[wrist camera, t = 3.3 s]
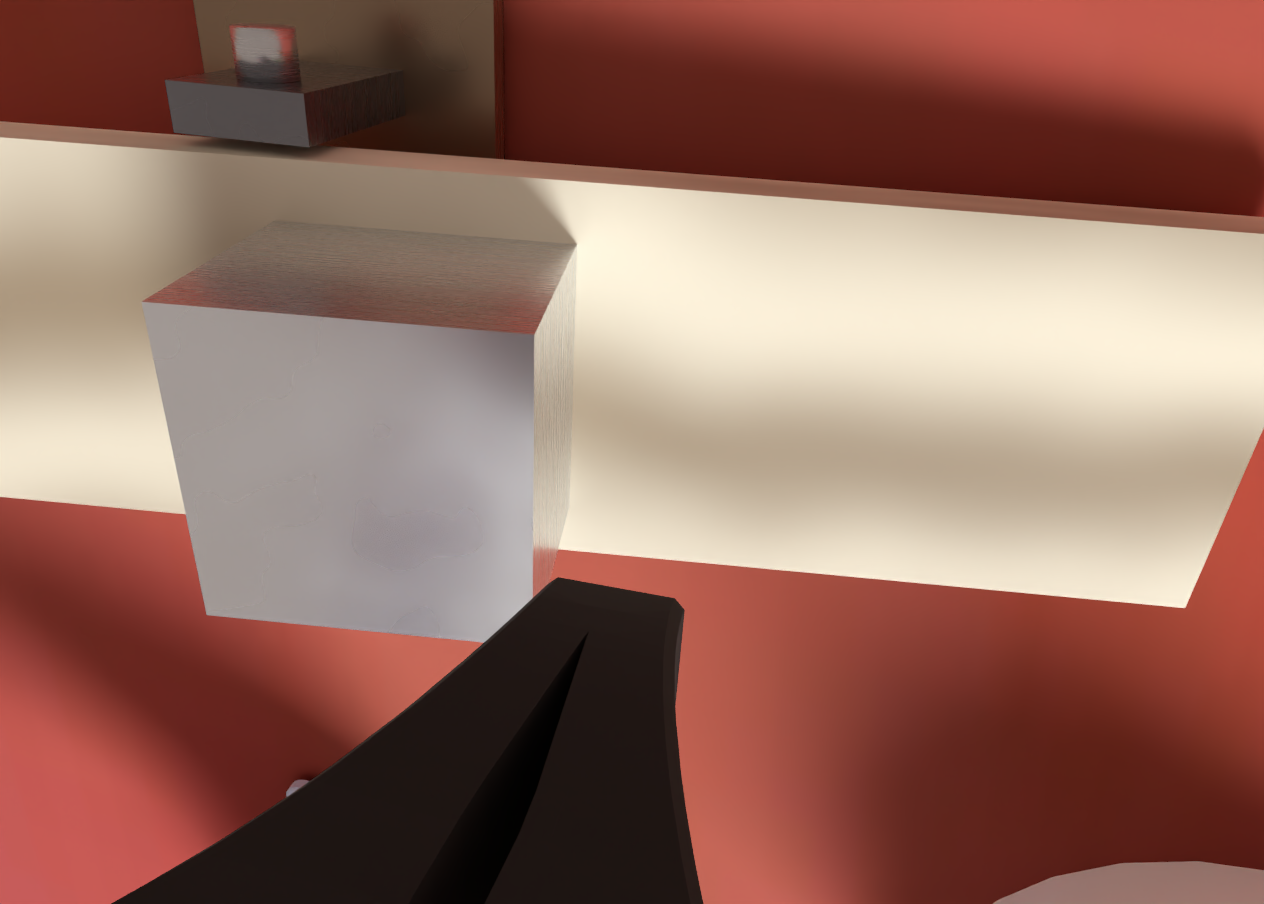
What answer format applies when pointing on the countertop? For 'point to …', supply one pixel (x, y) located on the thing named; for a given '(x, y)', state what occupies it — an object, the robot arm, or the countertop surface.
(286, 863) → the robot arm
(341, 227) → the steel block
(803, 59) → the countertop surface
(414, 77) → the pivot stand
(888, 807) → the countertop surface
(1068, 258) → the beam
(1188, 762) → the countertop surface
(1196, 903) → the honey pot
